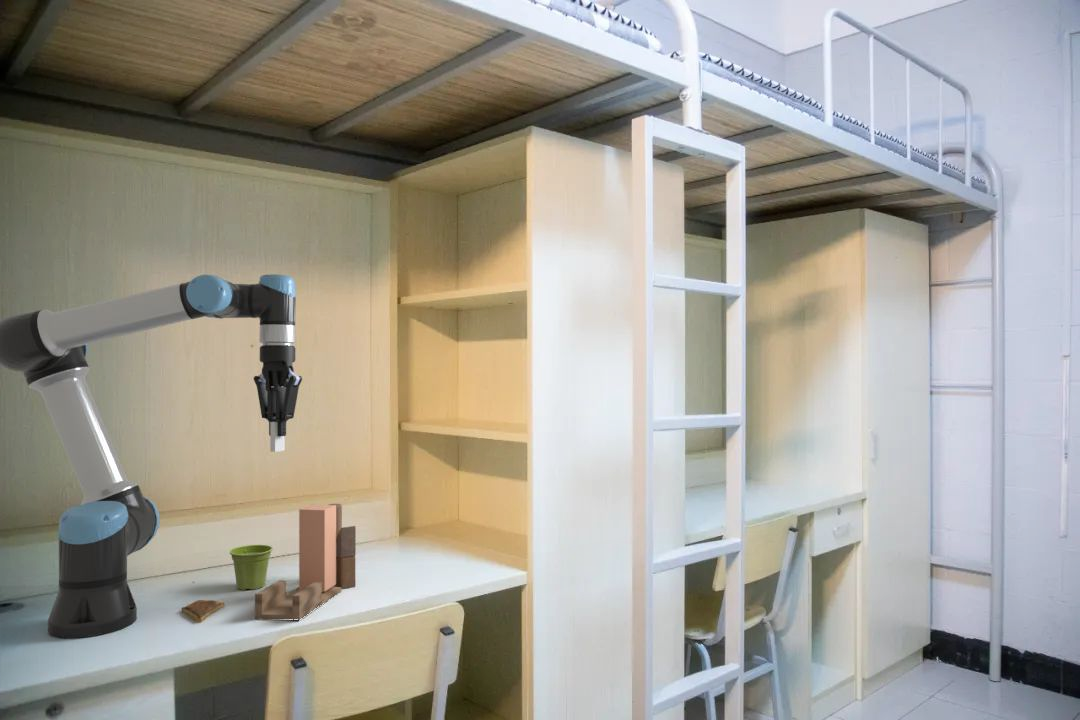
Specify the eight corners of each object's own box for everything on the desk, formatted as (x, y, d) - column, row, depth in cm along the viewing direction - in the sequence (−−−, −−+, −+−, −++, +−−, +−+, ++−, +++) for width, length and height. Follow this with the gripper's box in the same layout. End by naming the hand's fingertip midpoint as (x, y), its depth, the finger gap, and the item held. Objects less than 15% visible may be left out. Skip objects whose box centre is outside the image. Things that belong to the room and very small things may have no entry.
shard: (200, 625, 149) (200, 616, 149) (163, 624, 149) (163, 615, 149) (227, 608, 160) (227, 600, 160) (192, 607, 160) (192, 599, 160)
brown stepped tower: (341, 589, 171) (341, 511, 171) (323, 579, 180) (323, 504, 180) (356, 586, 173) (356, 509, 174) (338, 576, 182) (338, 502, 182)
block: (324, 591, 165) (324, 510, 165) (299, 590, 166) (299, 509, 166) (336, 584, 171) (336, 505, 171) (311, 582, 172) (311, 504, 172)
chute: (299, 621, 150) (299, 596, 150) (255, 618, 151) (255, 594, 151) (341, 591, 170) (341, 569, 170) (301, 589, 171) (301, 568, 171)
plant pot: (281, 585, 175) (281, 547, 175) (245, 595, 167) (245, 556, 167) (256, 578, 180) (256, 542, 180) (220, 588, 173) (220, 550, 173)
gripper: (311, 344, 166) (311, 450, 166) (270, 345, 173) (270, 448, 172) (285, 343, 160) (285, 454, 159) (243, 344, 166) (243, 451, 166)
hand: (277, 450), depth 166 cm, fingers closed
